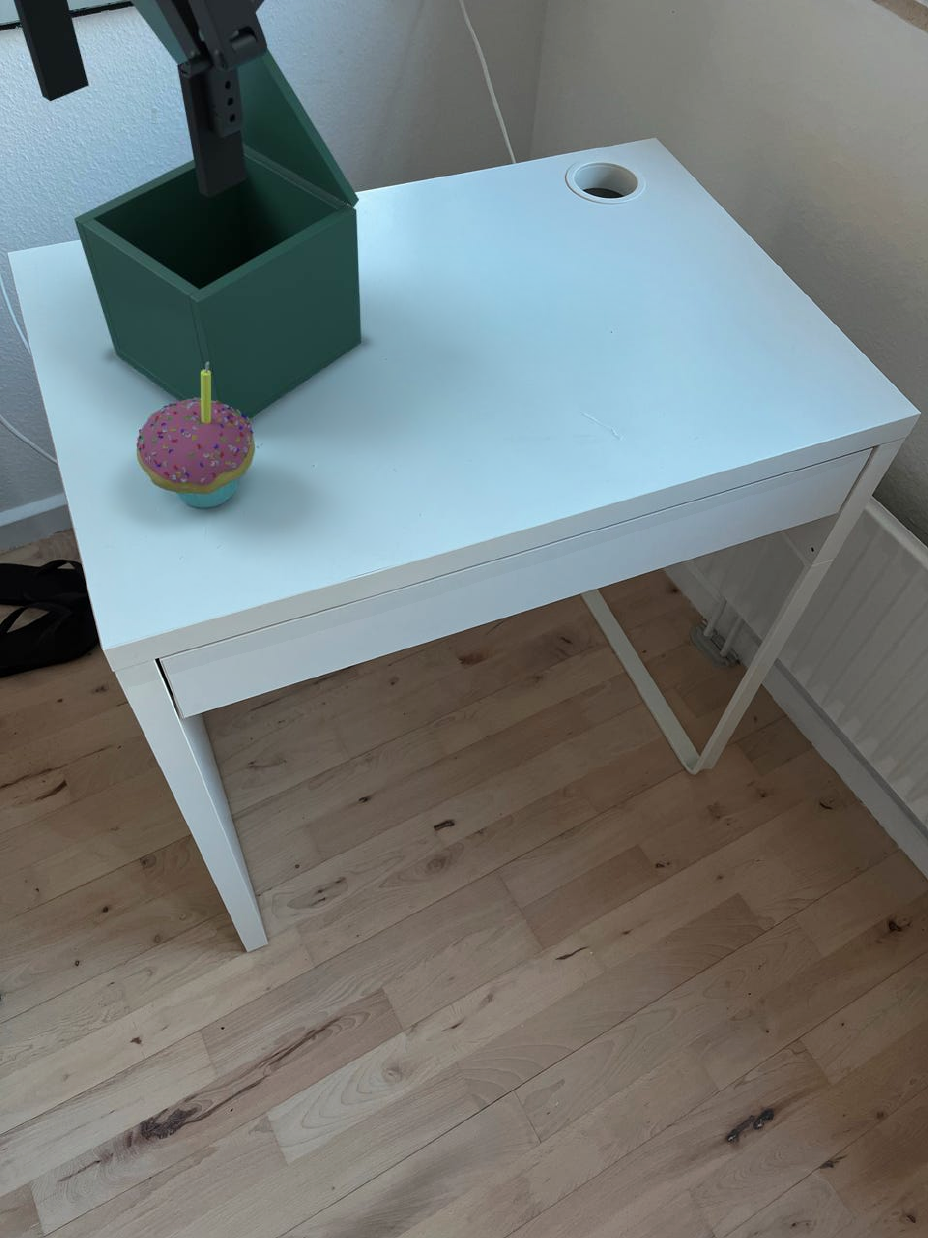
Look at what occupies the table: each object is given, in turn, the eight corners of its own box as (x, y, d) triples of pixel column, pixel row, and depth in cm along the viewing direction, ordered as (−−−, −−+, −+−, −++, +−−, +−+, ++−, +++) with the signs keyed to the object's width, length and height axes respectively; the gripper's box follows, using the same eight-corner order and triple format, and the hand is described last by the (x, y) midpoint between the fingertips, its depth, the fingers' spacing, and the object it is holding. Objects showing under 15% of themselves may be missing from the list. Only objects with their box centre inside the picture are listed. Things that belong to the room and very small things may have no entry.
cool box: (225, 435, 77) (198, 301, 66) (116, 355, 81) (73, 217, 71) (361, 342, 84) (356, 209, 73) (254, 273, 89) (234, 138, 78)
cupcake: (250, 438, 77) (228, 317, 67) (271, 515, 72) (251, 398, 62) (142, 458, 75) (104, 336, 65) (157, 538, 70) (119, 421, 60)
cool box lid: (250, 41, 57) (332, -72, 57) (103, -36, 62) (179, -140, 62) (353, 207, 73) (418, 119, 73) (231, 137, 78) (291, 53, 78)
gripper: (324, -357, 33) (348, 200, 51) (-82, -483, 41) (59, 35, 59) (156, -327, 30) (244, 260, 47) (-252, -472, 38) (-48, 76, 55)
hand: (141, 136), depth 53 cm, fingers open, 13 cm apart
